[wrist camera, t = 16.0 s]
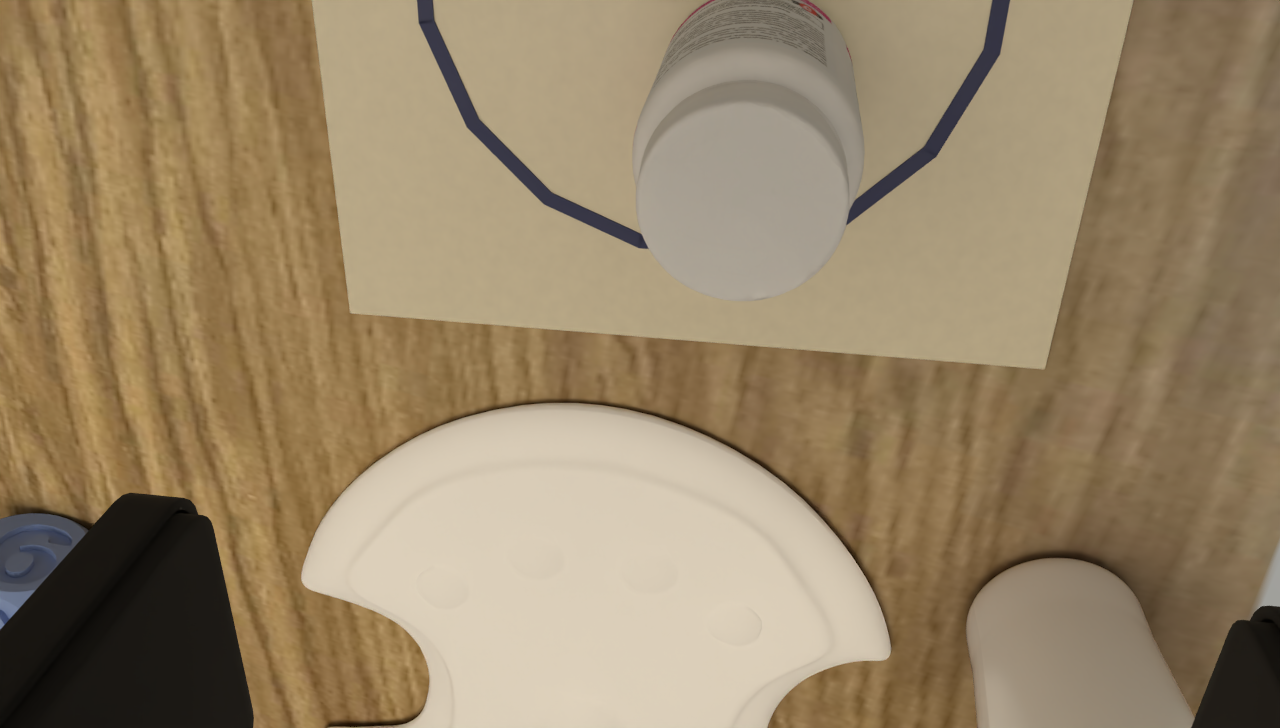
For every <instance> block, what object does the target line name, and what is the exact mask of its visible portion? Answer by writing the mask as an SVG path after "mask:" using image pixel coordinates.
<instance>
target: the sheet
mask: <svg viewBox="0 0 1280 728" xmlns="http://www.w3.org/2000/svg"><path fill="white" fill-rule="evenodd" d="M707 1H708V0H312V7H313V15H314V23H315V31H316V39H317V48H318V56H319V64H320V72H321V80H322V88H323V96H324V105H325V113H326V121H327V129H328V137H329V145H330V153H331V162H332V170H333V178H334V186H335V194H336V202H337V210H338V219H339V227H340V235H341V243H342V251H343V259H344V267H345V275H346V284H347V292H348V300H349V308H350V313H353V314H365V315H378V316H390V317H402V318H415V319H427V320H440V321H452V322H464V323H477V324H489V325H501V326H514V327H526V328H539V329H551V330H563V331H576V332H588V333H601V334H613V335H625V336H638V337H650V338H663V339H675V340H687V341H700V342H712V343H724V344H737V345H749V346H762V347H774V348H786V349H799V350H811V351H824V352H836V353H848V354H861V355H873V356H886V357H898V358H910V359H923V360H935V361H947V362H960V363H972V364H985V365H997V366H1009V367H1022V368H1034V369H1045V367H1046V363H1047V359H1048V355H1049V350H1050V346H1051V342H1052V338H1053V334H1054V330H1055V326H1056V321H1057V317H1058V313H1059V309H1060V305H1061V301H1062V296H1063V292H1064V288H1065V284H1066V280H1067V276H1068V272H1069V267H1070V263H1071V259H1072V255H1073V251H1074V247H1075V243H1076V238H1077V234H1078V230H1079V226H1080V222H1081V218H1082V213H1083V209H1084V205H1085V201H1086V197H1087V193H1088V189H1089V184H1090V180H1091V176H1092V172H1093V168H1094V164H1095V159H1096V155H1097V151H1098V147H1099V143H1100V139H1101V135H1102V130H1103V126H1104V122H1105V118H1106V114H1107V110H1108V106H1109V101H1110V97H1111V93H1112V89H1113V85H1114V81H1115V76H1116V72H1117V68H1118V64H1119V60H1120V56H1121V52H1122V47H1123V43H1124V39H1125V35H1126V31H1127V27H1128V23H1129V18H1130V14H1131V10H1132V6H1133V2H1134V0H809V1H811V2H812V3H814V4H815V5H816V6H818V7H819V8H820V9H822V10H823V11H824V12H825V13H826V14H827V15H828V16H829V18H830V19H831V20H832V21H833V22H834V24H835V25H836V27H837V28H838V30H839V31H840V33H841V35H842V37H843V39H844V41H845V43H846V45H847V48H848V50H849V53H850V56H851V60H852V64H853V69H854V77H855V84H856V92H857V98H858V103H859V110H860V117H861V123H862V130H863V136H864V150H865V154H864V167H863V174H862V179H861V183H860V187H859V190H858V193H857V195H856V198H855V200H854V202H853V204H852V206H851V208H850V210H849V214H848V219H847V223H846V228H845V231H844V234H843V236H842V238H841V241H840V243H839V245H838V247H837V248H836V250H835V252H834V253H833V255H832V256H831V258H830V259H829V261H828V262H827V263H826V264H825V265H824V266H823V267H822V268H821V269H820V270H819V271H818V272H817V273H816V274H815V275H814V276H813V277H811V278H810V279H809V280H807V281H806V282H805V283H803V284H802V285H800V286H799V287H797V288H795V289H792V290H790V291H788V292H786V293H784V294H781V295H778V296H775V297H772V298H767V299H763V300H756V301H729V300H723V299H718V298H714V297H710V296H707V295H704V294H702V293H699V292H697V291H695V290H692V289H690V288H688V287H686V286H685V285H683V284H682V283H680V282H679V281H677V280H676V279H674V278H673V277H672V276H671V275H670V274H669V273H668V272H667V271H666V270H665V269H664V268H663V267H662V266H661V265H660V264H659V262H658V261H657V260H656V259H655V258H654V256H653V254H652V253H651V252H650V250H649V248H648V246H647V244H646V242H645V240H644V238H643V236H642V233H641V231H640V227H639V223H638V220H637V213H636V184H635V180H634V175H633V164H632V150H633V139H634V134H635V130H636V126H637V123H638V119H639V117H640V114H641V111H642V109H643V107H644V104H645V102H646V100H647V97H648V95H649V93H650V90H651V88H652V86H653V83H654V81H655V79H656V76H657V74H658V71H659V69H660V66H661V63H662V61H663V58H664V56H665V53H666V50H667V48H668V46H669V44H670V41H671V39H672V38H673V36H674V34H675V33H676V31H677V30H678V28H679V27H680V26H681V24H682V23H683V22H684V21H685V20H686V18H687V17H688V16H689V15H690V14H691V13H692V12H693V11H695V10H696V9H697V8H698V7H699V6H701V5H702V4H704V3H705V2H707Z"/></svg>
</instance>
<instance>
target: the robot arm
mask: <svg viewBox="0 0 1280 728" xmlns="http://www.w3.org/2000/svg"><path fill="white" fill-rule="evenodd" d="M253 720H254V716H253V709H252V704H251V699H250V695H249V690H248V685H247V681H246V676H245V672H244V667H243V662H242V658H241V653H240V649H239V644H238V639H237V635H236V630H235V626H234V621H233V616H232V612H231V607H230V603H229V598H228V593H227V589H226V584H225V580H224V575H223V570H222V566H221V561H220V556H219V552H218V547H217V543H216V538H215V533H214V529H213V526H212V523H211V521H210V520H209V518H208V517H206V516H203V515H198V513H197V510H196V507H195V505H194V504H193V503H192V502H191V501H190V500H188V499H185V498H178V497H167V496H157V495H147V494H137V493H128V494H125V495H122V496H121V497H120V498H119V499H117V500H116V501H115V502H114V503H113V504H112V505H111V506H110V508H109V509H108V510H107V511H106V512H105V513H104V514H103V515H102V516H101V518H100V519H99V520H98V521H97V522H96V523H95V524H94V525H93V527H92V528H91V529H90V530H89V531H88V532H87V533H86V534H85V535H84V537H83V538H82V539H81V540H80V541H79V542H78V543H77V544H76V546H75V547H74V548H73V549H72V550H71V551H70V552H69V553H68V554H67V556H66V557H65V558H64V559H63V560H62V561H61V562H60V563H59V564H58V566H57V567H56V568H55V569H54V570H53V571H52V572H51V573H50V575H49V576H48V577H47V578H46V579H45V580H44V581H43V582H42V583H41V585H40V586H39V587H38V588H37V589H36V590H35V591H34V592H33V594H32V595H31V596H30V597H29V598H28V599H27V600H26V601H25V602H24V604H23V605H22V606H21V607H20V608H19V609H18V610H17V611H16V613H15V614H14V615H13V616H12V617H11V618H10V619H9V620H8V621H7V623H6V624H5V625H4V626H3V627H2V628H1V629H0V728H253ZM1191 728H1280V607H1276V606H1262V607H1260V608H1259V609H1258V610H1257V611H1255V613H1254V614H1253V616H1252V618H1251V620H1250V621H1247V620H1238V621H1236V622H1235V623H1234V624H1233V625H1232V627H1231V629H1230V630H1229V633H1228V635H1227V638H1226V640H1225V643H1224V645H1223V648H1222V650H1221V653H1220V655H1219V658H1218V661H1217V663H1216V666H1215V668H1214V671H1213V673H1212V676H1211V678H1210V681H1209V684H1208V686H1207V689H1206V691H1205V694H1204V696H1203V699H1202V701H1201V704H1200V706H1199V709H1198V712H1197V714H1196V717H1195V719H1194V722H1193V724H1192V727H1191Z"/></svg>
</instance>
